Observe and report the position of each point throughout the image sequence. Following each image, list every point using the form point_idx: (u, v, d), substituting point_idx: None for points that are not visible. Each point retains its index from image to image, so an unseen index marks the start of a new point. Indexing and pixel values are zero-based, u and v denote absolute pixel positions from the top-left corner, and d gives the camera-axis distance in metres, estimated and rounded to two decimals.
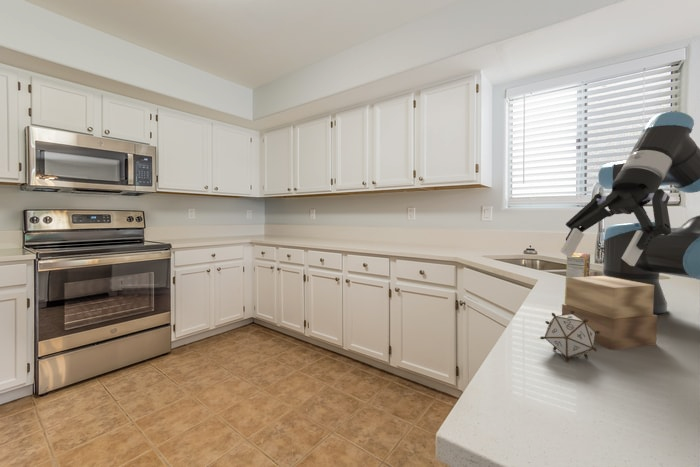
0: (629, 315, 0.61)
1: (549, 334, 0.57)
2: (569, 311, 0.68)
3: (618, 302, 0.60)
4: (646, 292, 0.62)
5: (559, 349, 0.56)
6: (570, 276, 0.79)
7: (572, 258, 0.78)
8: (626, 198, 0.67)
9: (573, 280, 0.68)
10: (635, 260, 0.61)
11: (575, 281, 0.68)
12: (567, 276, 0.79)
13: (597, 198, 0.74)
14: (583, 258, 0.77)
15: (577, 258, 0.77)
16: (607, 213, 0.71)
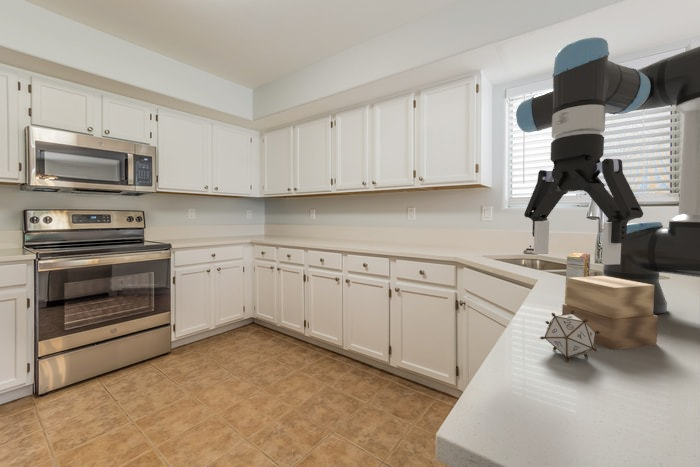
0: (630, 315, 0.61)
1: (549, 334, 0.57)
2: (569, 311, 0.68)
3: (619, 302, 0.60)
4: (646, 292, 0.62)
5: (559, 349, 0.56)
6: (570, 276, 0.79)
7: (572, 258, 0.78)
8: (573, 177, 0.53)
9: (574, 280, 0.68)
10: (618, 257, 0.49)
11: (576, 281, 0.68)
12: (567, 276, 0.79)
13: (542, 177, 0.60)
14: (583, 258, 0.77)
15: (577, 258, 0.77)
16: (562, 192, 0.58)
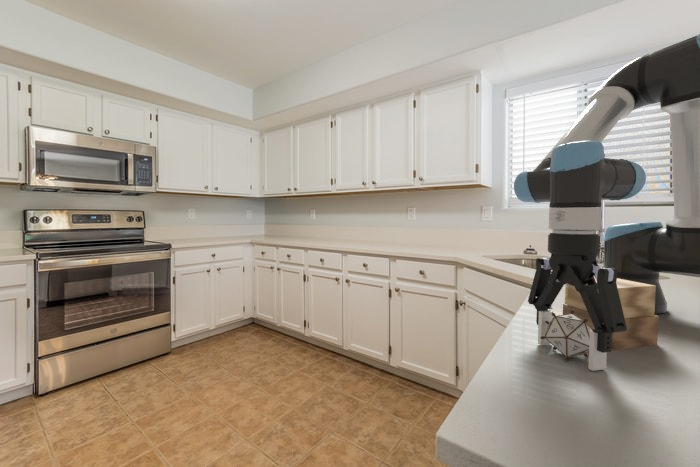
0: (631, 316, 0.61)
1: (549, 334, 0.57)
2: (570, 311, 0.68)
3: None
4: (648, 293, 0.61)
5: (559, 349, 0.56)
6: None
7: None
8: (569, 274, 0.54)
9: None
10: (604, 363, 0.52)
11: None
12: None
13: (541, 265, 0.61)
14: None
15: None
16: (561, 283, 0.59)
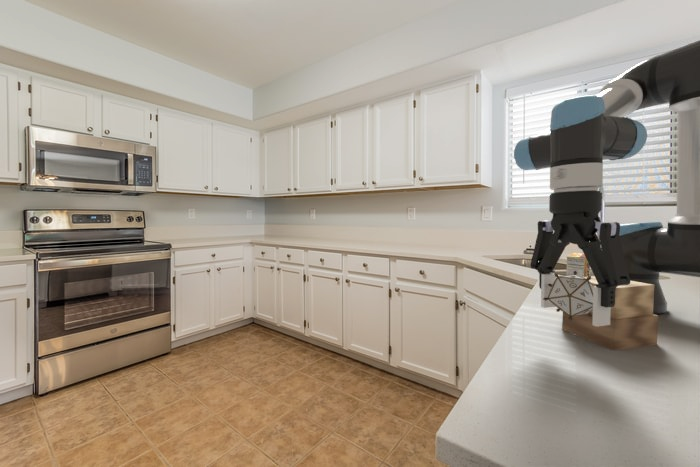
0: (631, 315, 0.61)
1: (552, 295, 0.57)
2: None
3: (621, 302, 0.60)
4: (647, 292, 0.62)
5: (562, 309, 0.56)
6: None
7: (572, 258, 0.78)
8: (572, 233, 0.54)
9: None
10: (608, 318, 0.51)
11: None
12: None
13: (542, 227, 0.61)
14: (583, 258, 0.77)
15: (577, 258, 0.77)
16: (564, 243, 0.58)
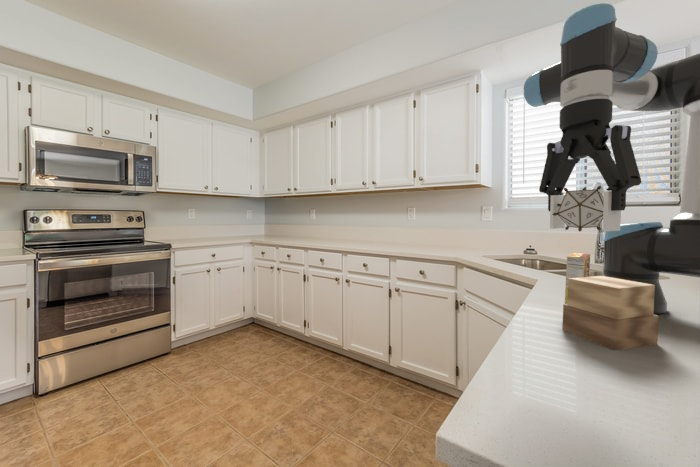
0: (632, 315, 0.61)
1: (562, 209, 0.57)
2: (570, 311, 0.68)
3: (623, 303, 0.60)
4: (647, 292, 0.62)
5: (572, 221, 0.56)
6: (570, 276, 0.79)
7: (572, 258, 0.78)
8: (582, 143, 0.55)
9: (575, 281, 0.67)
10: (618, 224, 0.52)
11: (577, 282, 0.67)
12: (567, 276, 0.79)
13: (552, 148, 0.61)
14: (583, 258, 0.77)
15: (577, 258, 0.77)
16: (573, 161, 0.59)
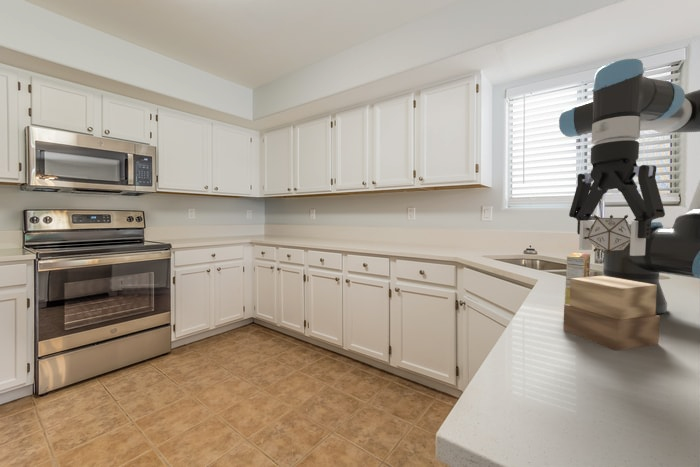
0: (635, 315, 0.61)
1: (592, 233, 0.65)
2: (571, 311, 0.68)
3: (626, 303, 0.60)
4: (650, 292, 0.62)
5: (601, 245, 0.64)
6: (570, 276, 0.79)
7: (572, 258, 0.78)
8: (612, 178, 0.63)
9: (577, 281, 0.67)
10: (643, 249, 0.60)
11: (579, 282, 0.67)
12: (567, 276, 0.79)
13: (582, 179, 0.70)
14: (583, 258, 0.77)
15: (577, 258, 0.77)
16: (602, 191, 0.67)
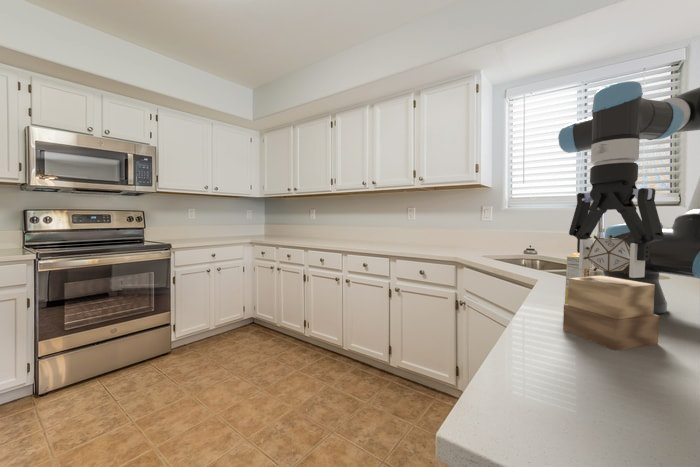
0: (633, 315, 0.61)
1: (592, 254, 0.65)
2: (571, 311, 0.68)
3: (624, 303, 0.60)
4: (648, 291, 0.62)
5: (601, 265, 0.64)
6: (570, 276, 0.79)
7: (572, 258, 0.78)
8: (611, 199, 0.63)
9: (575, 280, 0.67)
10: (642, 271, 0.60)
11: (578, 281, 0.67)
12: (567, 276, 0.79)
13: (582, 198, 0.70)
14: None
15: (577, 258, 0.77)
16: (602, 211, 0.67)
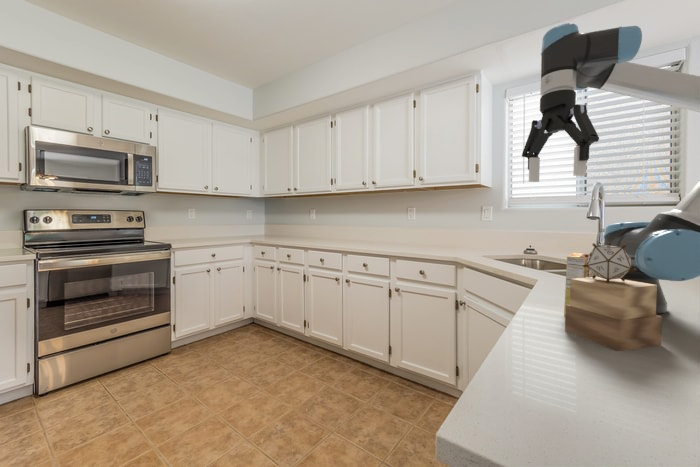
0: (636, 316, 0.61)
1: (591, 262, 0.66)
2: (573, 312, 0.68)
3: (627, 303, 0.60)
4: (650, 292, 0.62)
5: (600, 273, 0.65)
6: (570, 276, 0.79)
7: (572, 258, 0.78)
8: (555, 120, 0.78)
9: (578, 281, 0.67)
10: (584, 170, 0.73)
11: (580, 282, 0.66)
12: (567, 276, 0.79)
13: (534, 125, 0.85)
14: (583, 258, 0.77)
15: (577, 258, 0.77)
16: (548, 134, 0.83)
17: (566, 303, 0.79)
